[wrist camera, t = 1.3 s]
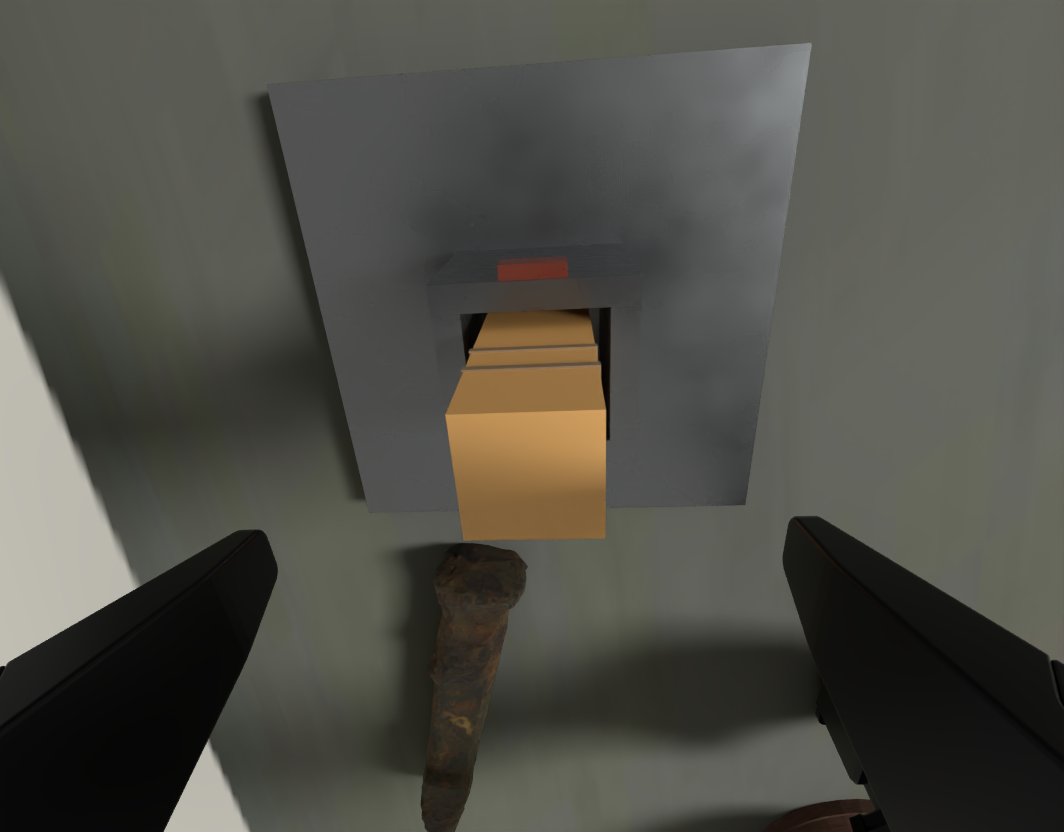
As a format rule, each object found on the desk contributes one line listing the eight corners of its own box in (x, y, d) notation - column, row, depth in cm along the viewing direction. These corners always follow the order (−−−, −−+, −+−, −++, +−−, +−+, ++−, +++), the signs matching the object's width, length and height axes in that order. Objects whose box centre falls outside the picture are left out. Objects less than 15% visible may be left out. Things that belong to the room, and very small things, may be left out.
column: (586, 284, 18) (608, 407, 10) (587, 369, 20) (607, 540, 11) (495, 288, 19) (441, 412, 10) (503, 372, 20) (461, 542, 12)
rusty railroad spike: (447, 528, 26) (425, 603, 22) (529, 545, 26) (523, 622, 22) (406, 758, 34) (385, 843, 30) (468, 770, 35) (455, 855, 30)
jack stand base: (795, 49, 16) (908, 5, 11) (736, 488, 24) (788, 590, 18) (284, 87, 18) (162, 64, 12) (377, 496, 25) (326, 595, 19)
